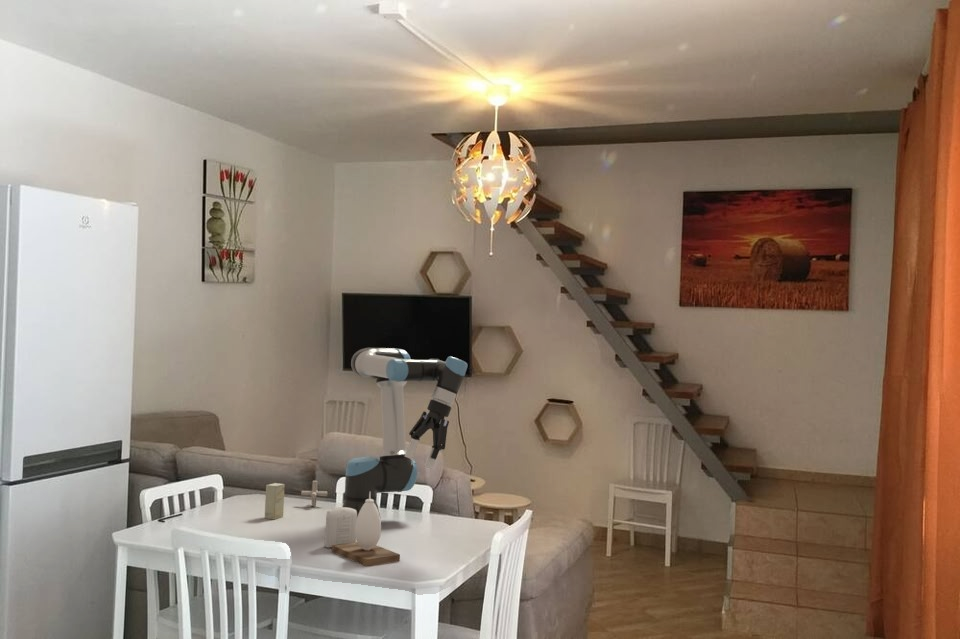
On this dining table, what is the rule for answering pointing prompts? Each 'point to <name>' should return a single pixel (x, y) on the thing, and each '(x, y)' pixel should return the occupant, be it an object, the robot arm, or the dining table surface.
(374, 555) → the walnut board
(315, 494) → the pipe connector
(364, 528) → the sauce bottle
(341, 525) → the beige engraved tablet
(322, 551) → the dining table surface
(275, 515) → the skincare box
